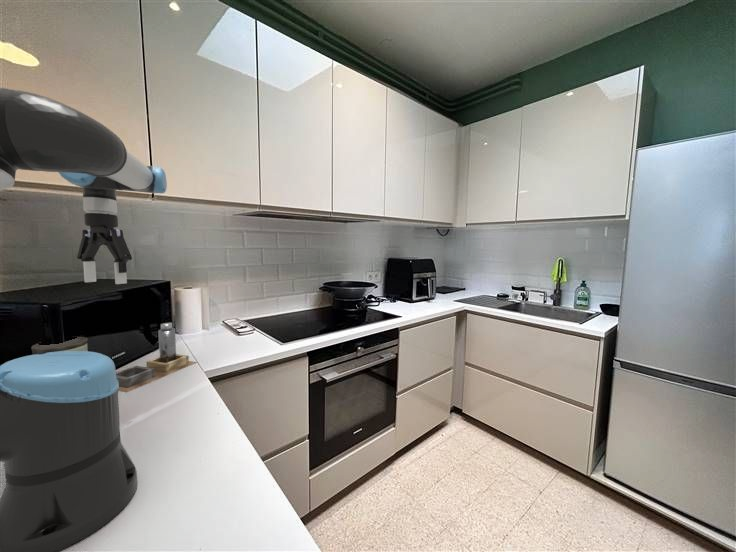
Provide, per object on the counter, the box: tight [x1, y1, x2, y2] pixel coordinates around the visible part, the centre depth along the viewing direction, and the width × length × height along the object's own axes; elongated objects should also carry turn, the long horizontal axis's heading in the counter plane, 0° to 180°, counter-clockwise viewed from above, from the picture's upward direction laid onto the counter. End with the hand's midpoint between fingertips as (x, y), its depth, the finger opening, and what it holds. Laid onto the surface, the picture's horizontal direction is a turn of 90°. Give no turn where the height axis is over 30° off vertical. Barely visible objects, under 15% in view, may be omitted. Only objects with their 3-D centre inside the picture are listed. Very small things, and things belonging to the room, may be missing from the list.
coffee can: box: [30, 336, 89, 355], centre depth 78 cm, size 10×10×14 cm
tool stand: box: [116, 353, 198, 393], centre depth 88 cm, size 22×12×4 cm, turn 164°
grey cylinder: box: [157, 322, 177, 363], centre depth 92 cm, size 4×4×14 cm
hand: (105, 282), depth 89 cm, fingers open, 13 cm apart
